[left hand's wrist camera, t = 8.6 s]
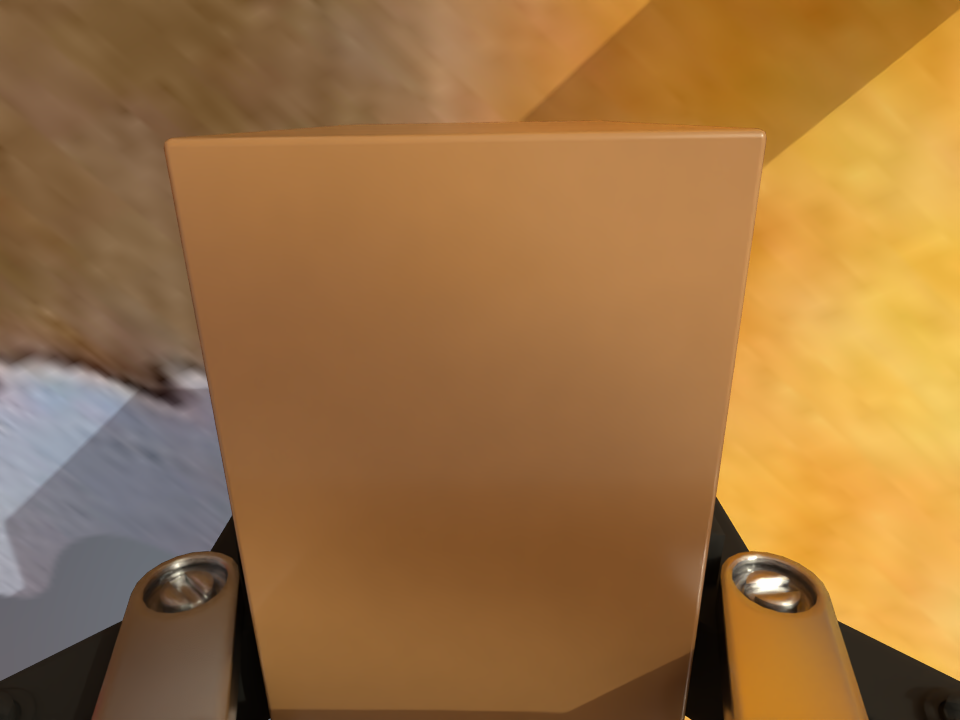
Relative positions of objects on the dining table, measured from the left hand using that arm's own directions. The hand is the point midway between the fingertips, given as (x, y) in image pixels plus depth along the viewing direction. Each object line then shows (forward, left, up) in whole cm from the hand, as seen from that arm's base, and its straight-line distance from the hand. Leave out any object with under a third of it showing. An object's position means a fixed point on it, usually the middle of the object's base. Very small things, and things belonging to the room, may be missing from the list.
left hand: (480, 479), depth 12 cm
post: (+20, -15, -3) cm, 25 cm away
